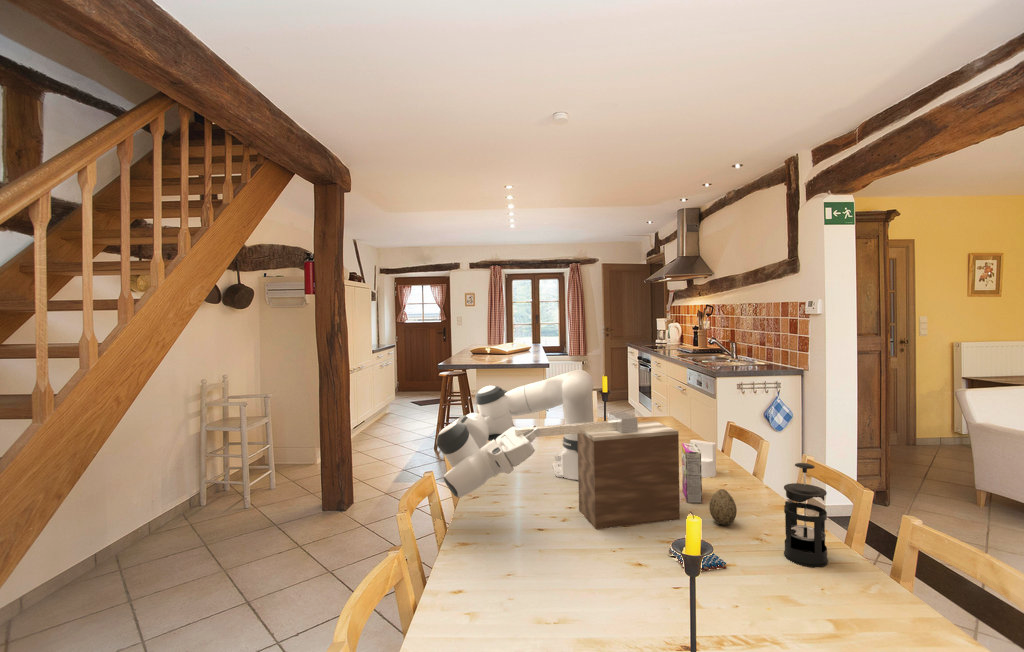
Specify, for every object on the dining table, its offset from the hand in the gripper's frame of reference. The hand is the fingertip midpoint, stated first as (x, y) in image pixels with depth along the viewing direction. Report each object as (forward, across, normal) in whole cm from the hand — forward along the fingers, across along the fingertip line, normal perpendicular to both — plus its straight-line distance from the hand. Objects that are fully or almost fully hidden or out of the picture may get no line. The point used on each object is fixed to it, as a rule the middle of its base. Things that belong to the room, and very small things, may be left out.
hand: (537, 428), depth 145 cm
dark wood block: (+10, 0, -38) cm, 39 cm away
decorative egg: (+29, +13, -50) cm, 59 cm away
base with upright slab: (+47, -28, -60) cm, 81 cm away
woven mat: (+13, +30, -41) cm, 52 cm away
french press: (+36, +35, -53) cm, 73 cm away
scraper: (+8, 0, -7) cm, 11 cm away
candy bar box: (+32, -8, -51) cm, 61 cm away
